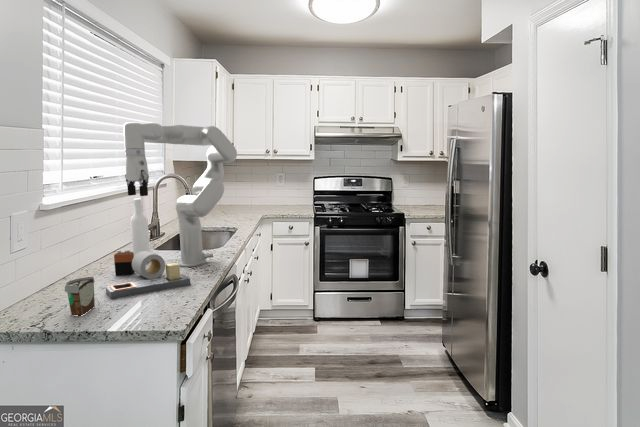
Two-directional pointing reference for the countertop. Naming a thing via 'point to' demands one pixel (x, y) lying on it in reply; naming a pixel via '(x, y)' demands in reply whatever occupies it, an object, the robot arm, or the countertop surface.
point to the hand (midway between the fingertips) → (137, 195)
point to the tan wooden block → (172, 271)
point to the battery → (123, 263)
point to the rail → (145, 286)
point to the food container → (80, 295)
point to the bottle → (139, 229)
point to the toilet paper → (155, 267)
